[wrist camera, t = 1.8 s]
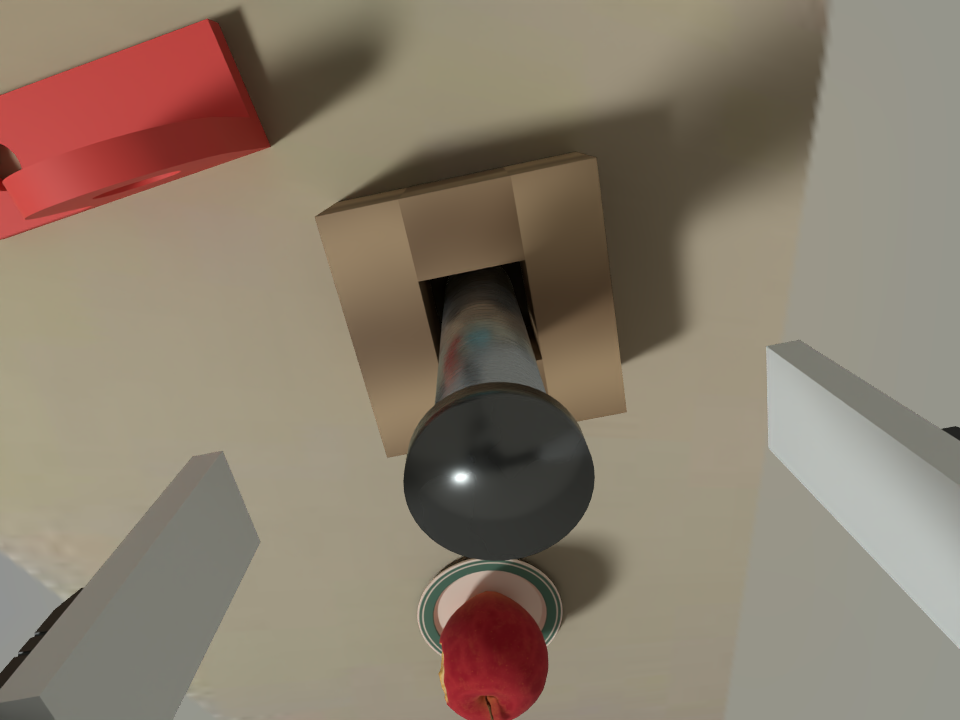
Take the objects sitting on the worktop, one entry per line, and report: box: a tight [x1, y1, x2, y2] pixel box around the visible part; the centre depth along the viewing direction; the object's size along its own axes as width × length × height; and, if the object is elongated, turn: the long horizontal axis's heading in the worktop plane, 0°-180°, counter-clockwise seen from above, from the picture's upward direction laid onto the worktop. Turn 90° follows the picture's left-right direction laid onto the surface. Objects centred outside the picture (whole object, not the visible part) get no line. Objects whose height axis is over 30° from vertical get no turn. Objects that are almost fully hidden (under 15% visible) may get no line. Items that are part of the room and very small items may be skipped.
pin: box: [404, 265, 595, 561], centre depth 19 cm, size 4×4×15 cm
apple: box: [417, 558, 563, 720], centre depth 30 cm, size 8×8×6 cm
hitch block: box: [315, 152, 627, 458], centre depth 24 cm, size 10×10×4 cm
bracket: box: [0, 19, 271, 240], centre depth 20 cm, size 12×4×8 cm, turn 107°
